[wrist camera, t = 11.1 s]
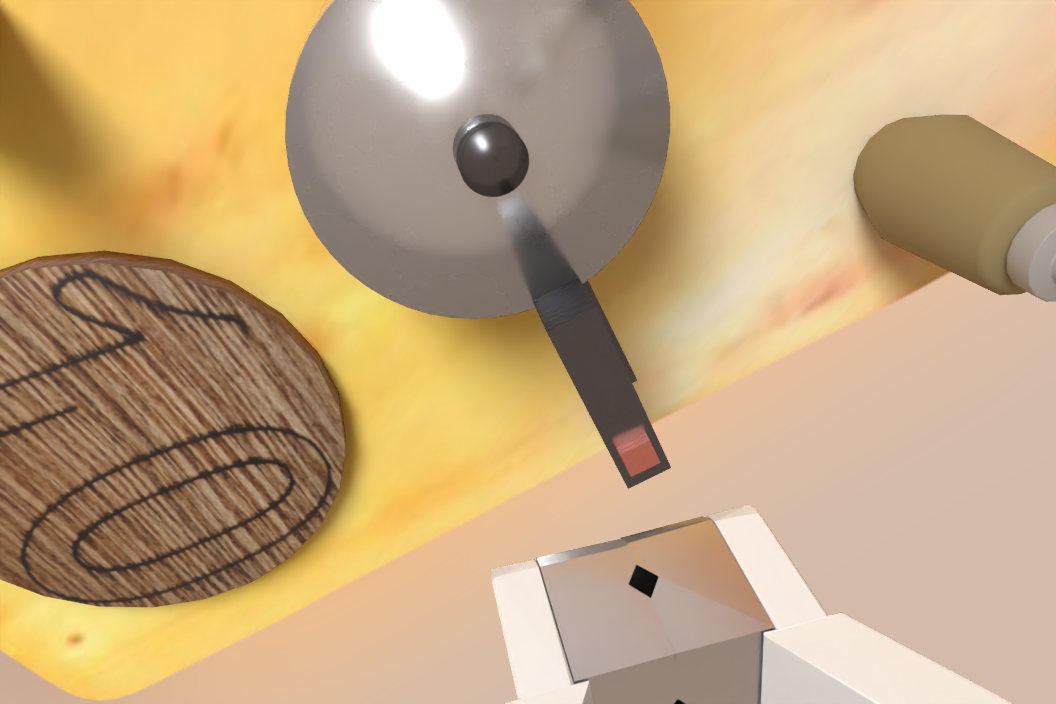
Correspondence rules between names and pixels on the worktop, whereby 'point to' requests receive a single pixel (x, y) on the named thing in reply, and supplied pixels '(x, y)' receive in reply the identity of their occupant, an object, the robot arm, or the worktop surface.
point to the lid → (488, 167)
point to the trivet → (155, 432)
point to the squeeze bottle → (963, 201)
